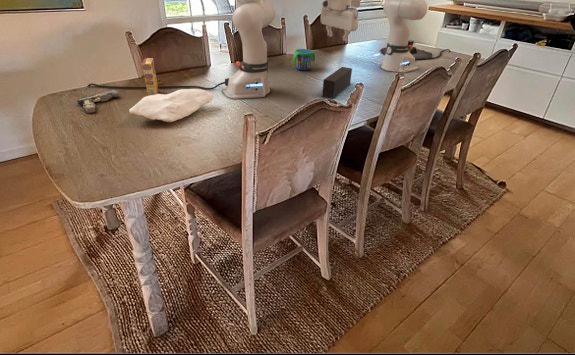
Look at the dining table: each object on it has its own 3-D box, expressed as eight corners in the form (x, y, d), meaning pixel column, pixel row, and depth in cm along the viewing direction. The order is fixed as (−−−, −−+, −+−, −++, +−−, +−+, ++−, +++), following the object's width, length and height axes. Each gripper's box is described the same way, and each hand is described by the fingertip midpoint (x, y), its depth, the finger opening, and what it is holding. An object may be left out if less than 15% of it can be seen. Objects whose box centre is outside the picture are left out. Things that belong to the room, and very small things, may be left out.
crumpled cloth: (117, 110, 146) (113, 90, 140) (195, 92, 166) (194, 73, 160) (143, 139, 134) (140, 118, 128) (223, 116, 154) (224, 96, 148)
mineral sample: (442, 55, 248) (445, 41, 243) (409, 61, 230) (411, 46, 226) (402, 47, 272) (404, 34, 268) (369, 52, 255) (370, 39, 251)
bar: (332, 98, 171) (334, 81, 167) (322, 96, 173) (323, 79, 169) (350, 84, 190) (352, 68, 186) (340, 82, 192) (342, 66, 188)
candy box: (157, 97, 164) (152, 63, 155) (147, 98, 163) (141, 63, 155) (158, 91, 171) (153, 57, 163) (149, 91, 170) (143, 58, 162)
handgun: (128, 97, 156) (111, 87, 164) (86, 107, 144) (70, 97, 152) (129, 103, 157) (113, 94, 165) (88, 114, 146) (72, 103, 154)
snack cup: (308, 65, 218) (310, 47, 212) (319, 69, 210) (321, 51, 205) (287, 68, 210) (287, 50, 205) (297, 73, 203) (298, 54, 197)
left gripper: (363, 7, 149) (358, 42, 156) (330, 0, 162) (327, 33, 170) (352, 8, 145) (348, 43, 153) (319, 1, 159) (316, 34, 167)
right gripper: (359, -13, 188) (355, 15, 196) (321, -14, 185) (319, 15, 192) (364, -12, 183) (360, 17, 191) (325, -13, 179) (322, 17, 187)
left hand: (337, 38), depth 161 cm, fingers open, 8 cm apart
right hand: (339, 16), depth 191 cm, fingers open, 8 cm apart
